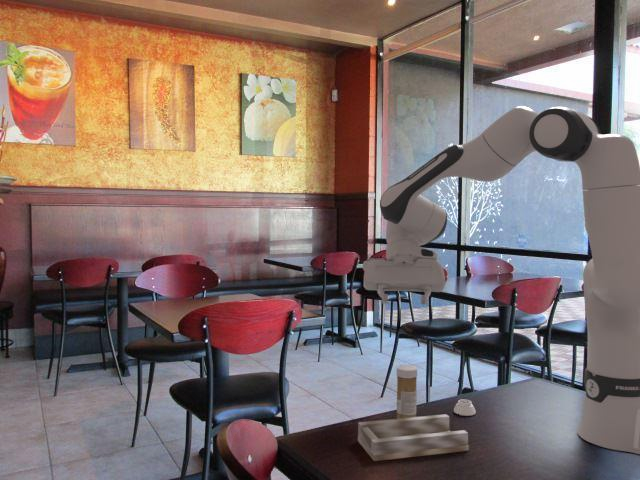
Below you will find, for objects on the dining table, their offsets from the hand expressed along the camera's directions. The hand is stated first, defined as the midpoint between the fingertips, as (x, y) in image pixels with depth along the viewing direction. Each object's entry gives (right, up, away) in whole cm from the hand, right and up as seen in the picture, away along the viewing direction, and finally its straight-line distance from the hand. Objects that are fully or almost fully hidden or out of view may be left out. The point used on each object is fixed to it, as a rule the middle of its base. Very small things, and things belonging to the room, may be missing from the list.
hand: (404, 302), depth 136 cm
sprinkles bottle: (-1, -27, -11) cm, 29 cm away
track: (-2, -27, -22) cm, 35 cm away
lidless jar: (+14, -26, -2) cm, 30 cm away
